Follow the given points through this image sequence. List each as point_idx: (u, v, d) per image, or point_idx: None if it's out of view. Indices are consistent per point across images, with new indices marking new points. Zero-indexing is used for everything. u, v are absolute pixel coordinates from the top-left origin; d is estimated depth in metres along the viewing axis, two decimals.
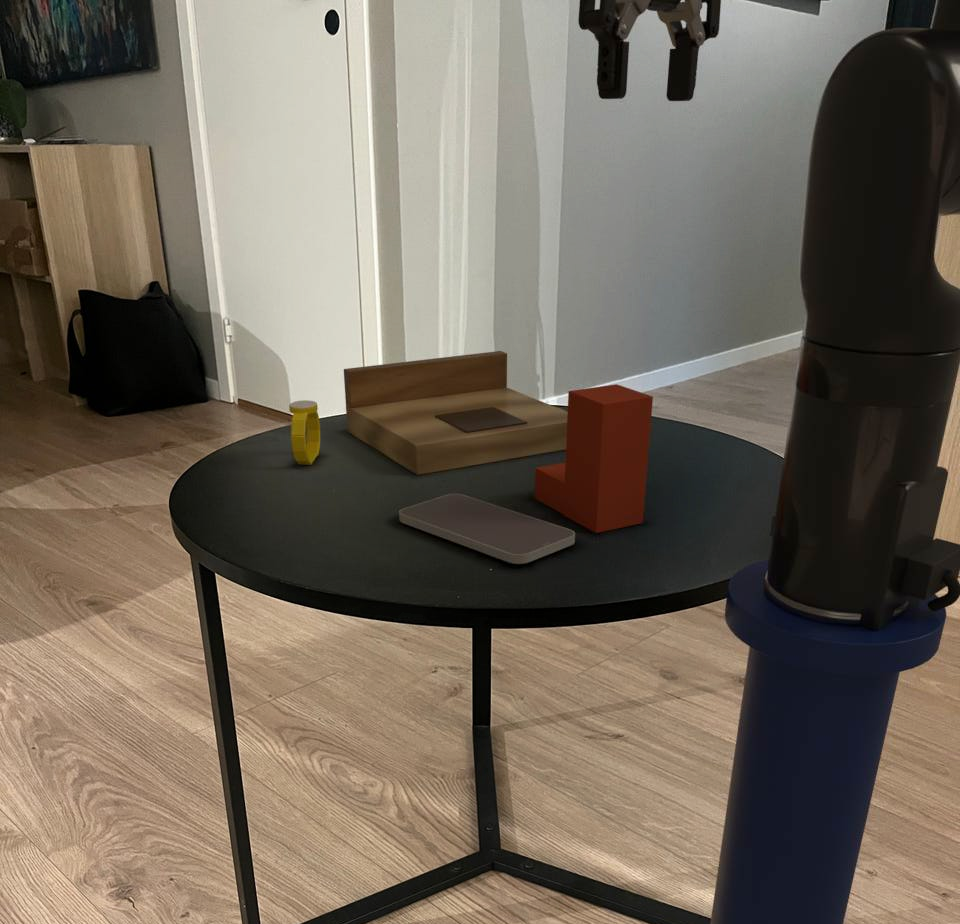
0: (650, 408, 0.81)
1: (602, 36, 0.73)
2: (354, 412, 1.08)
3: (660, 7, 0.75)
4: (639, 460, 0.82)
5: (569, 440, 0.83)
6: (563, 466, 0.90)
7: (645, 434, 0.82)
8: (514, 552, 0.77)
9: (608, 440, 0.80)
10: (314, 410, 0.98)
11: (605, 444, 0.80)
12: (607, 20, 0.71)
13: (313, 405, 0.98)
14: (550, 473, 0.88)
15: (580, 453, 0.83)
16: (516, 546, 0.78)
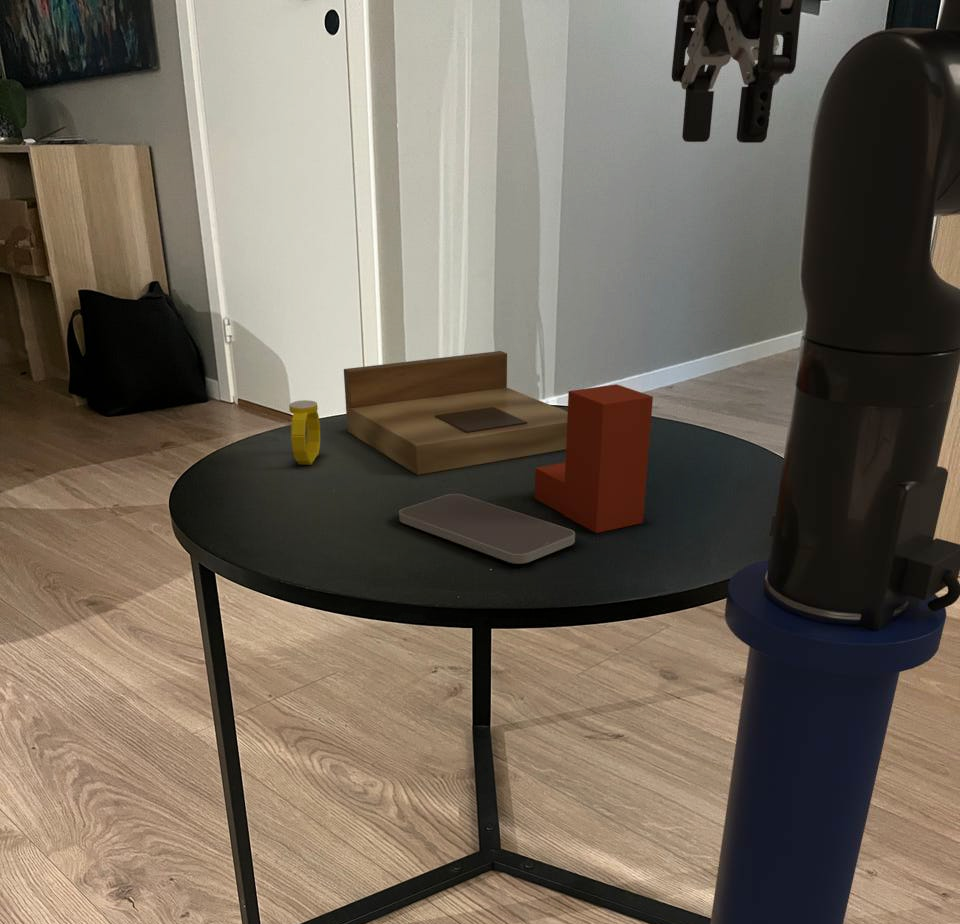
0: (650, 408, 0.81)
1: (766, 81, 0.72)
2: (354, 412, 1.08)
3: None
4: (639, 460, 0.82)
5: (569, 440, 0.83)
6: (563, 466, 0.90)
7: (645, 434, 0.82)
8: (514, 551, 0.77)
9: (608, 440, 0.80)
10: (314, 410, 0.98)
11: (605, 444, 0.80)
12: None
13: (313, 405, 0.98)
14: (550, 473, 0.88)
15: (580, 453, 0.83)
16: (516, 546, 0.78)
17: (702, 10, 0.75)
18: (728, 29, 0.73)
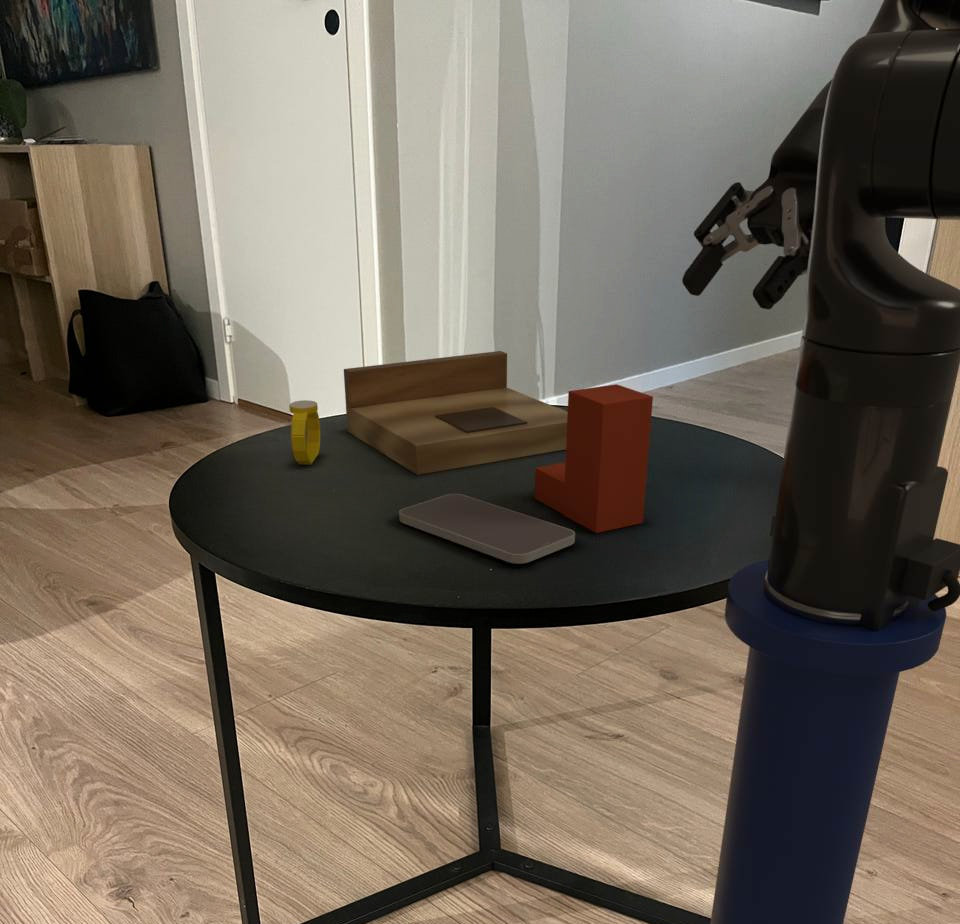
0: (650, 408, 0.81)
1: (801, 263, 0.79)
2: (354, 412, 1.08)
3: (764, 238, 0.84)
4: (639, 460, 0.82)
5: (569, 440, 0.83)
6: (563, 466, 0.90)
7: (645, 434, 0.82)
8: (514, 551, 0.77)
9: (608, 440, 0.80)
10: (314, 410, 0.98)
11: (605, 444, 0.80)
12: None
13: (313, 405, 0.98)
14: (550, 473, 0.88)
15: (580, 453, 0.83)
16: (516, 546, 0.78)
17: (764, 191, 0.83)
18: (787, 211, 0.80)
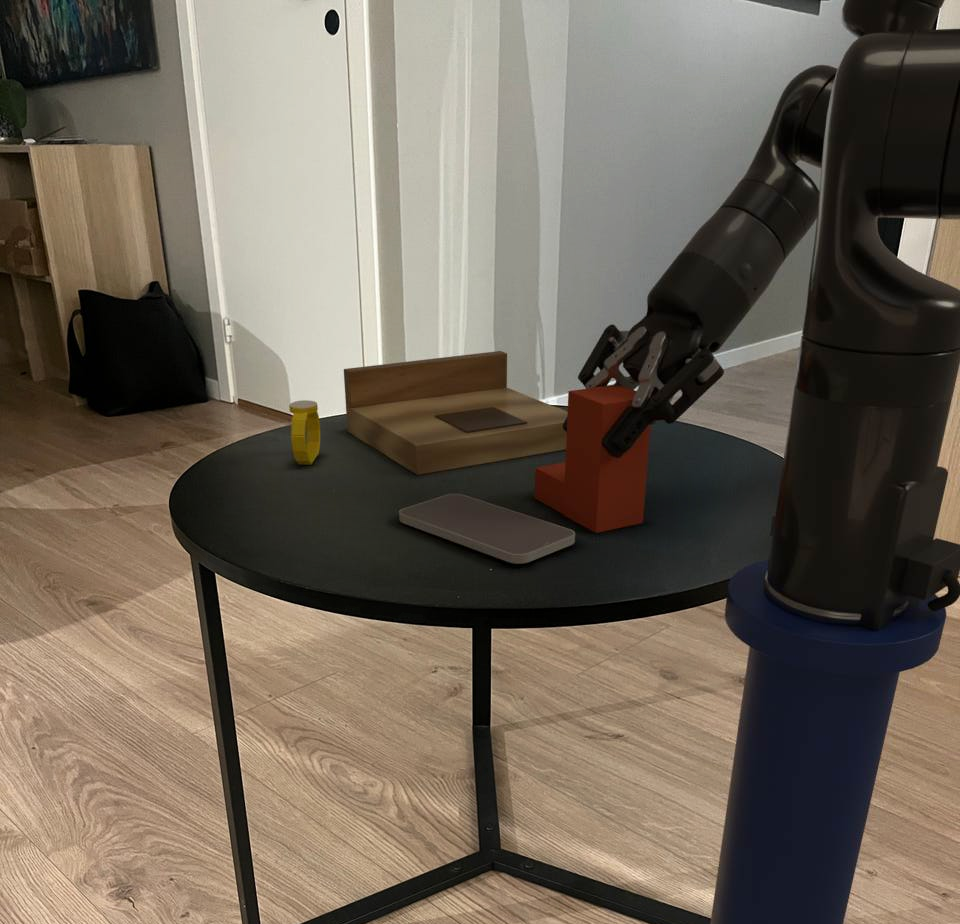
0: None
1: (648, 415, 0.79)
2: (354, 412, 1.08)
3: None
4: (639, 460, 0.82)
5: (569, 440, 0.83)
6: (563, 466, 0.90)
7: (645, 434, 0.82)
8: (514, 551, 0.77)
9: None
10: (314, 410, 0.98)
11: None
12: None
13: (313, 405, 0.98)
14: (550, 473, 0.88)
15: (580, 453, 0.83)
16: (516, 546, 0.78)
17: (638, 332, 0.82)
18: (651, 357, 0.80)
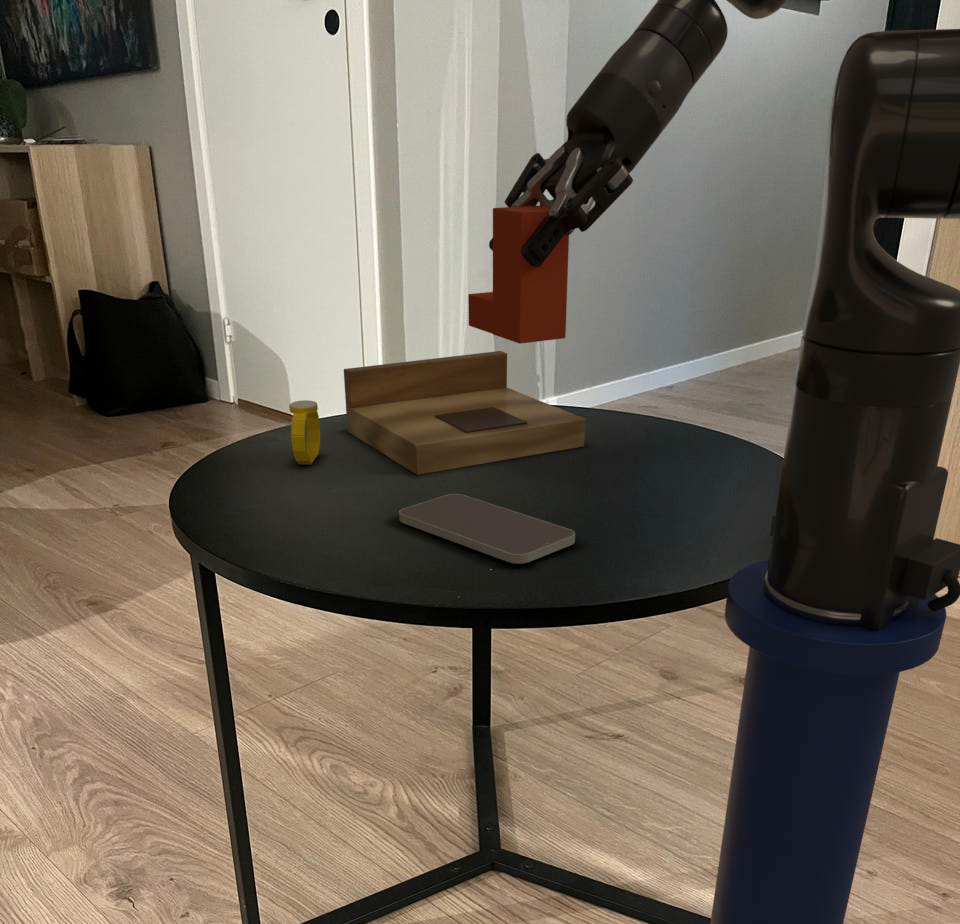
0: None
1: (563, 223, 0.85)
2: (354, 412, 1.08)
3: None
4: (559, 273, 0.88)
5: (495, 256, 0.89)
6: None
7: (564, 247, 0.87)
8: (514, 551, 0.77)
9: None
10: (314, 410, 0.98)
11: None
12: None
13: (313, 405, 0.98)
14: (481, 296, 0.94)
15: (504, 267, 0.89)
16: (516, 546, 0.78)
17: (557, 152, 0.88)
18: (567, 171, 0.85)
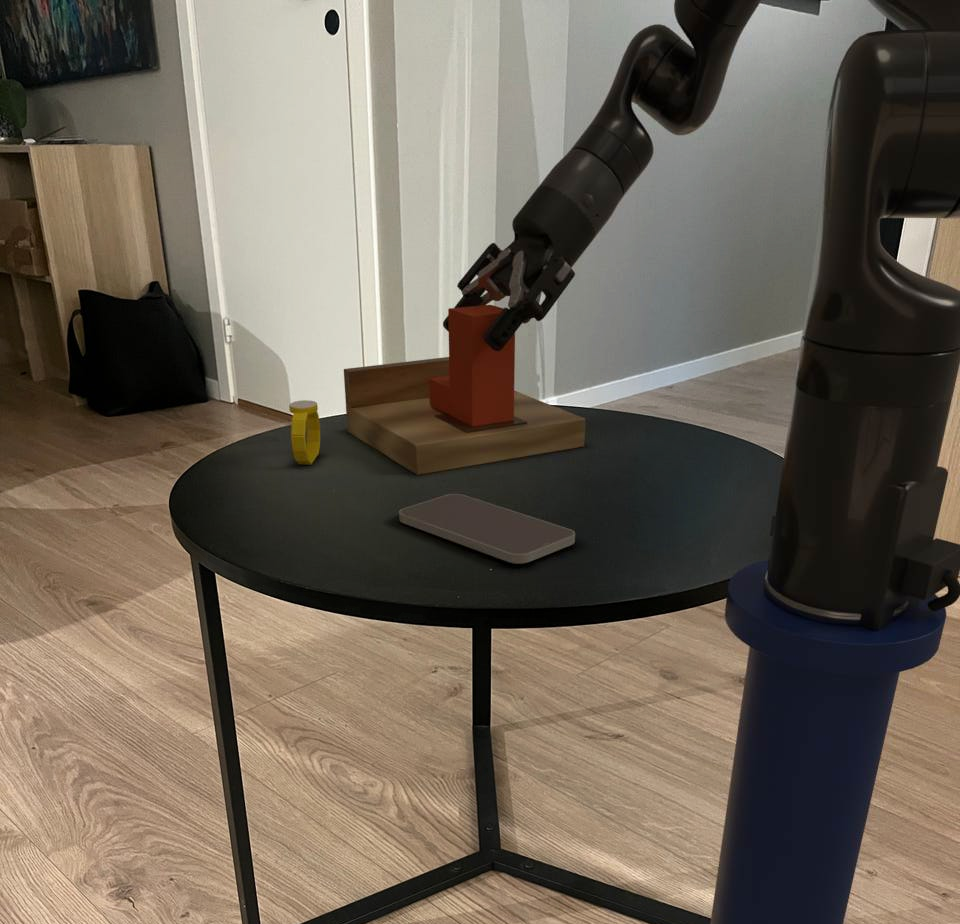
0: None
1: (521, 314, 0.95)
2: (354, 412, 1.08)
3: (506, 291, 1.00)
4: (507, 366, 1.00)
5: (451, 350, 1.01)
6: None
7: (510, 343, 0.99)
8: (514, 551, 0.77)
9: (478, 347, 0.98)
10: (314, 410, 0.98)
11: (475, 350, 0.98)
12: None
13: (313, 405, 0.98)
14: (440, 382, 1.06)
15: (458, 360, 1.00)
16: (516, 546, 0.78)
17: (504, 252, 0.99)
18: (515, 270, 0.97)
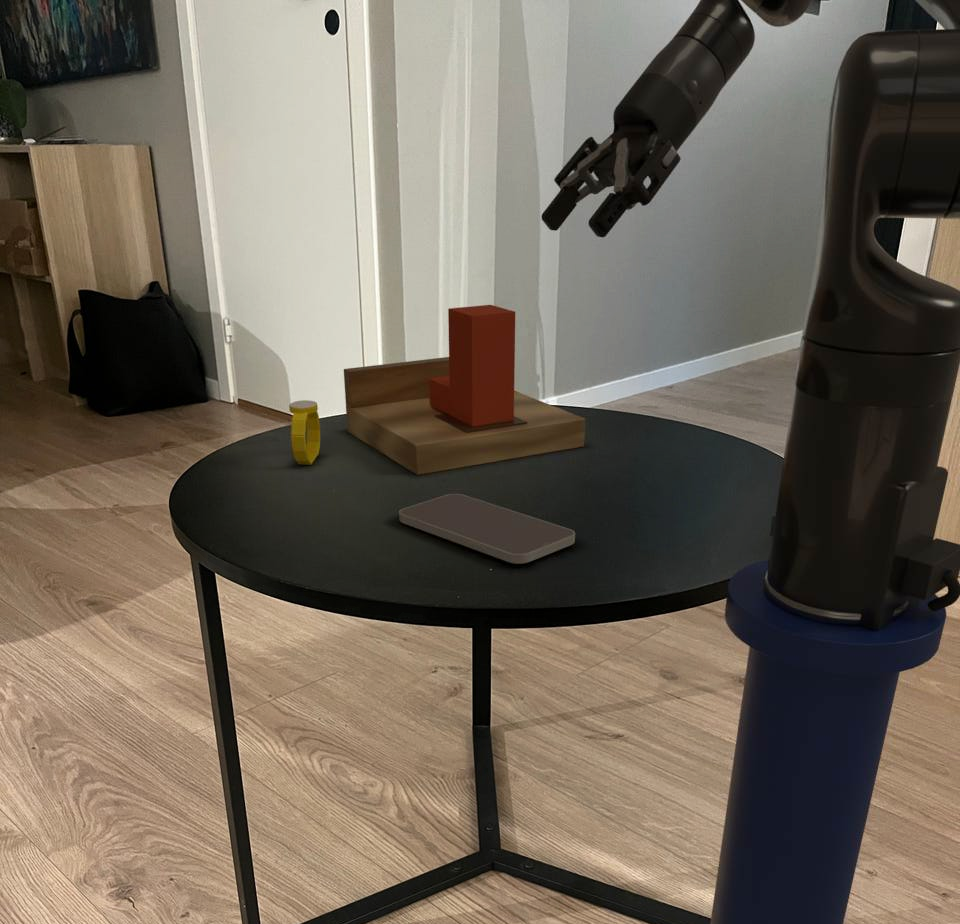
0: (513, 321, 0.98)
1: (627, 198, 0.96)
2: (354, 412, 1.08)
3: (606, 181, 1.01)
4: (507, 366, 1.00)
5: (451, 350, 1.01)
6: None
7: (510, 343, 0.99)
8: (514, 551, 0.77)
9: (478, 347, 0.98)
10: (314, 410, 0.98)
11: (475, 350, 0.98)
12: None
13: (313, 405, 0.98)
14: (440, 382, 1.06)
15: (458, 360, 1.00)
16: (516, 546, 0.78)
17: (606, 142, 1.00)
18: (620, 157, 0.97)
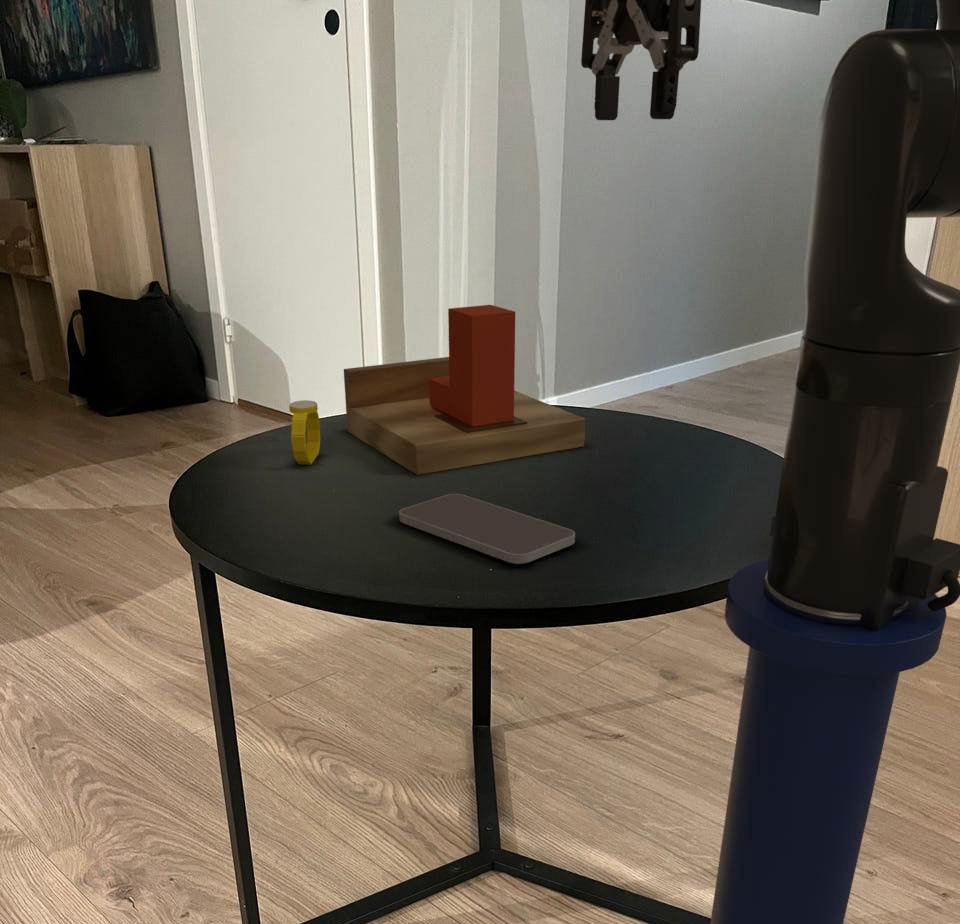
0: (513, 321, 0.98)
1: (673, 67, 0.86)
2: (354, 412, 1.08)
3: (637, 42, 0.90)
4: (507, 366, 1.00)
5: (451, 350, 1.01)
6: None
7: (510, 343, 0.99)
8: (514, 551, 0.77)
9: (478, 347, 0.98)
10: (314, 410, 0.98)
11: (475, 350, 0.98)
12: None
13: (313, 405, 0.98)
14: (440, 382, 1.06)
15: (458, 360, 1.00)
16: (516, 546, 0.78)
17: (612, 6, 0.88)
18: (638, 22, 0.86)
